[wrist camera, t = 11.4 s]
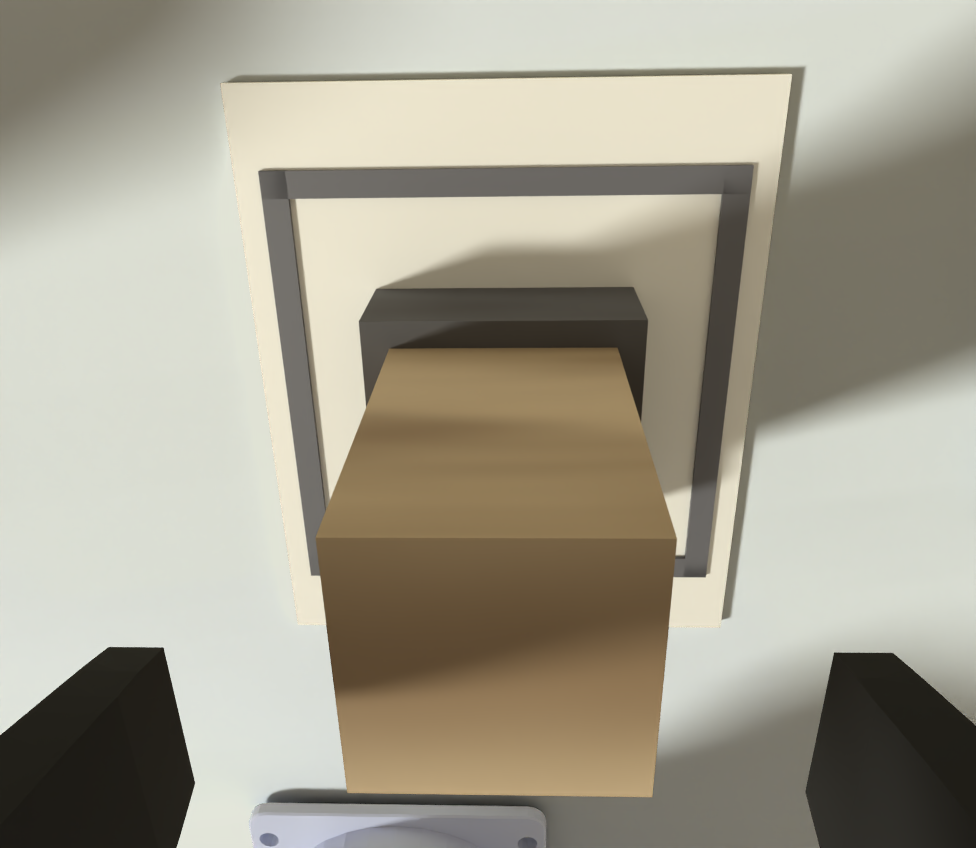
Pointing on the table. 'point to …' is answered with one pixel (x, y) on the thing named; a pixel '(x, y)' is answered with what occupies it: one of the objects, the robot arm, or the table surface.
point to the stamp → (499, 548)
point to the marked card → (513, 257)
